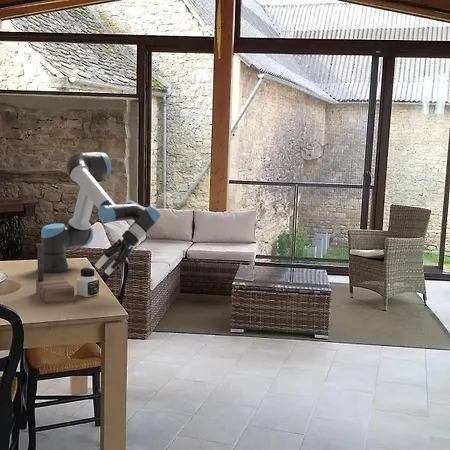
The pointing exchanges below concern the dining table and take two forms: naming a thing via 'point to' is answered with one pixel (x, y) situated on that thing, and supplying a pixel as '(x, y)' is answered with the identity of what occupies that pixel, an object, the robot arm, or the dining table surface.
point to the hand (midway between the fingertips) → (101, 270)
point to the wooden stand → (52, 284)
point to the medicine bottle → (87, 283)
